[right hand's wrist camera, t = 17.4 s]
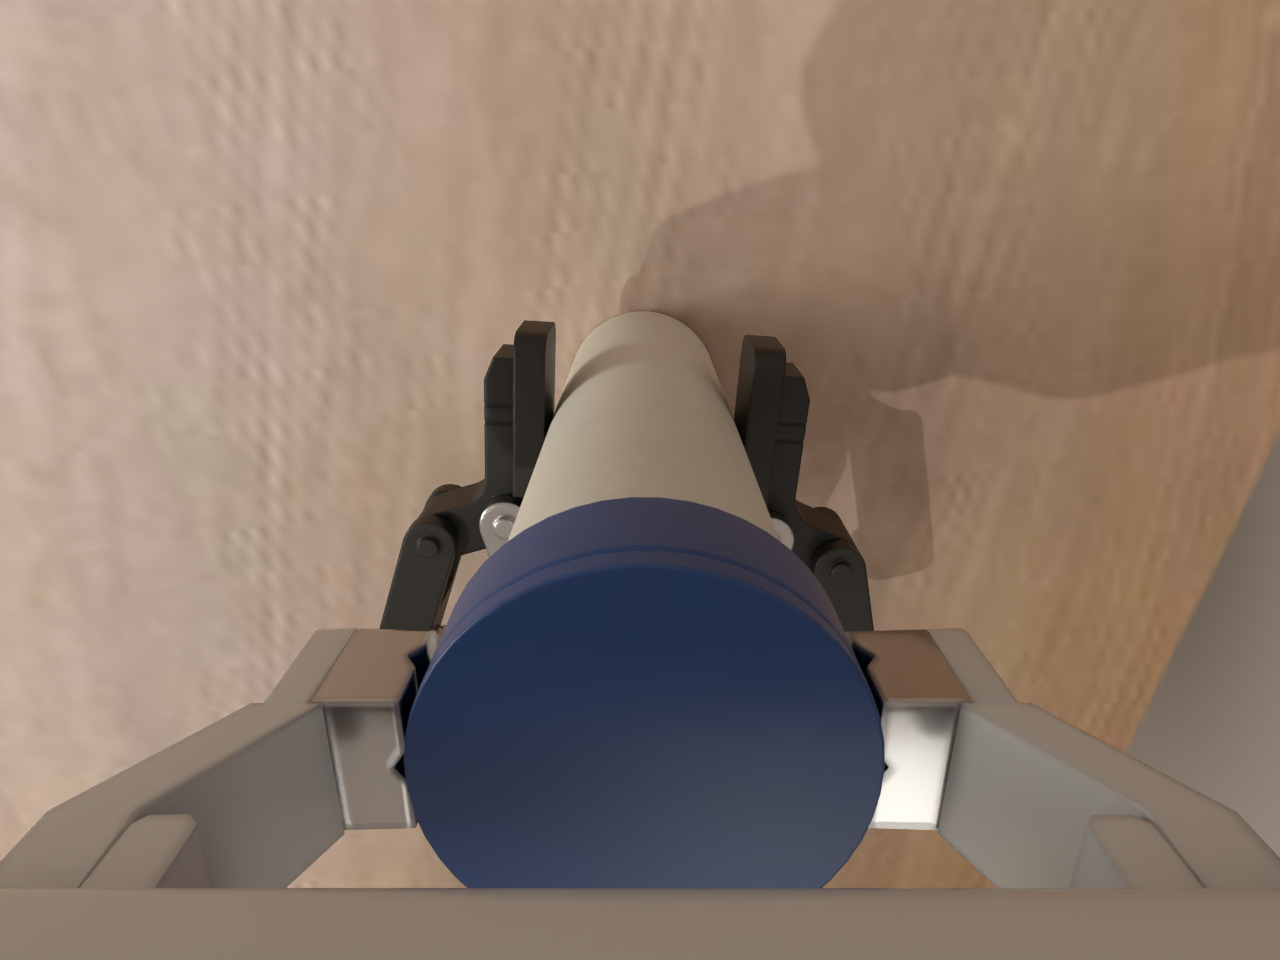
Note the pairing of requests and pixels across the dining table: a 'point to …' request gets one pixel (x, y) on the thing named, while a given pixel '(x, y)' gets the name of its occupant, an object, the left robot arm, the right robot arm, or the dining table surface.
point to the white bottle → (642, 427)
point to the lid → (644, 711)
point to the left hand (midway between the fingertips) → (649, 338)
